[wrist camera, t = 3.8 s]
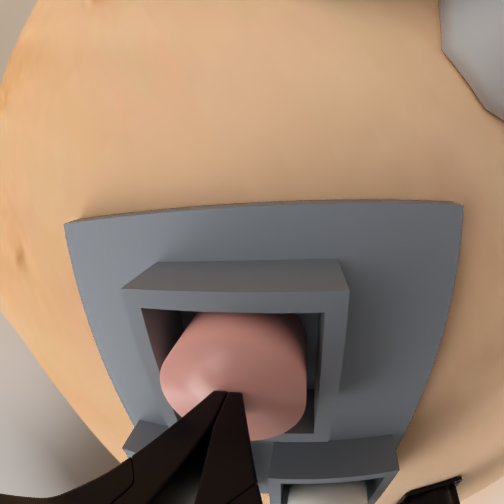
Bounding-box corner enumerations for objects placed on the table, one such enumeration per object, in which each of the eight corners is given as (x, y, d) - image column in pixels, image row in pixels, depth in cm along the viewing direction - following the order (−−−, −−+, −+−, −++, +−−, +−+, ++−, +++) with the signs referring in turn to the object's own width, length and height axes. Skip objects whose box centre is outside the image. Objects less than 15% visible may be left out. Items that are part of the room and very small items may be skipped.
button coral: (307, 290, 9) (309, 342, 6) (304, 386, 10) (302, 443, 8) (182, 289, 10) (143, 333, 7) (201, 380, 11) (178, 430, 8)
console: (450, 201, 9) (504, 219, 5) (370, 479, 14) (373, 515, 11) (77, 219, 11) (23, 238, 8) (169, 467, 17) (155, 498, 14)
